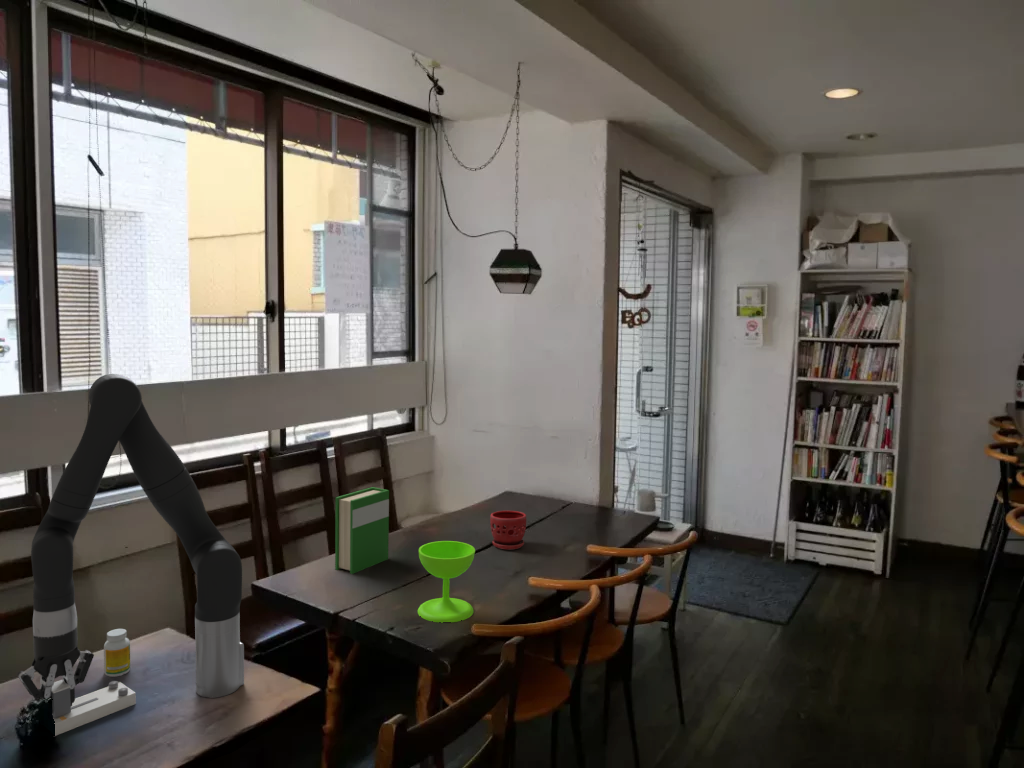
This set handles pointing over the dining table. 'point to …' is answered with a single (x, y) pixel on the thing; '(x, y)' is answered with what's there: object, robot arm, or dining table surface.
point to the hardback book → (361, 529)
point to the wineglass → (446, 579)
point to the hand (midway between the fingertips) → (58, 708)
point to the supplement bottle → (116, 653)
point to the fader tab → (60, 699)
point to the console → (96, 706)
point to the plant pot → (508, 529)
